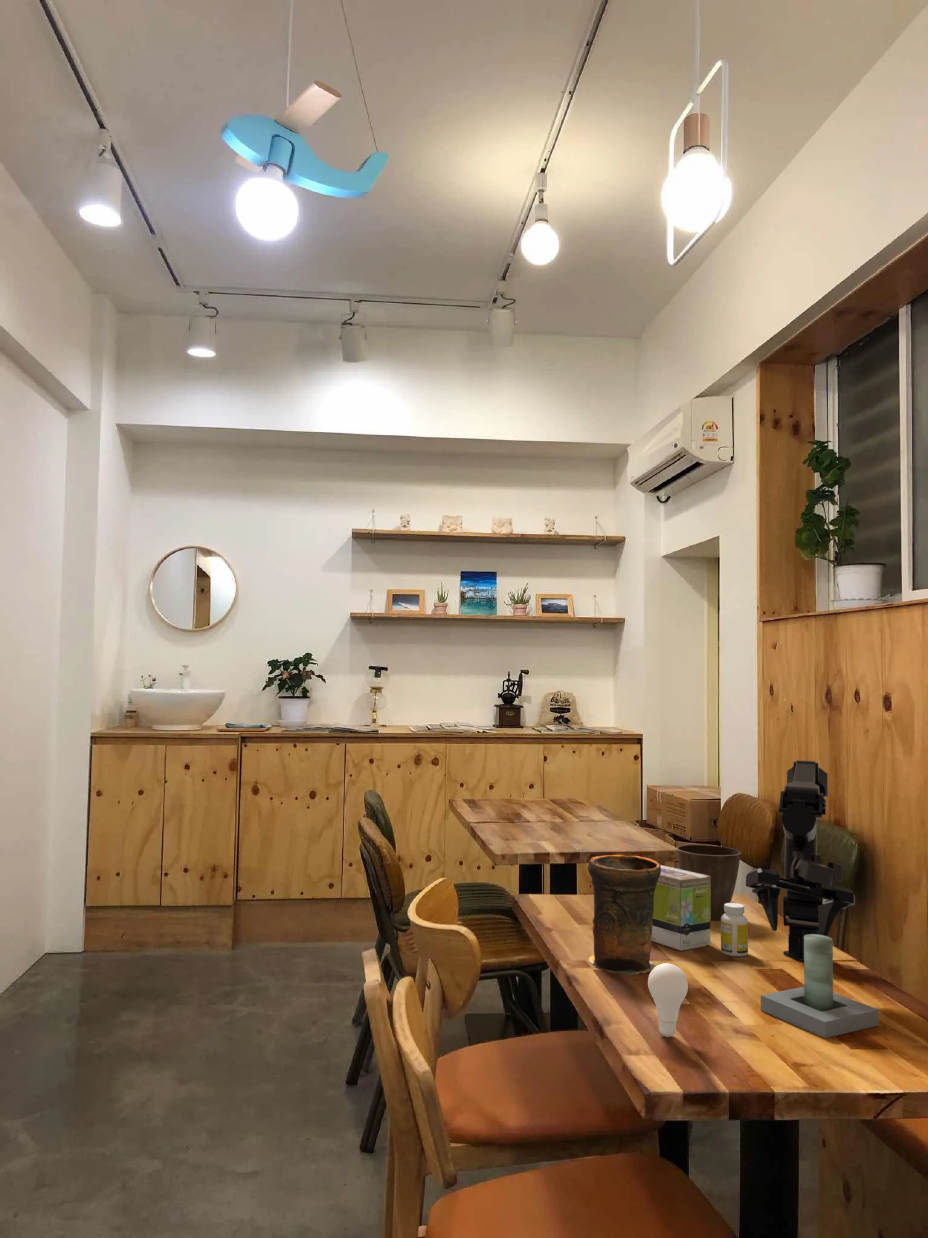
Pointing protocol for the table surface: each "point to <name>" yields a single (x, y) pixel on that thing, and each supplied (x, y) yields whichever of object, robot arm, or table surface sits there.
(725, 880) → the plant pot
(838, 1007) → the holder board
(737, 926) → the supplement bottle
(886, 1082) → the table surface
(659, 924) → the tea box
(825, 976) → the peg
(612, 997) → the table surface
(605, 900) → the vessel
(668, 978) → the lightbulb
